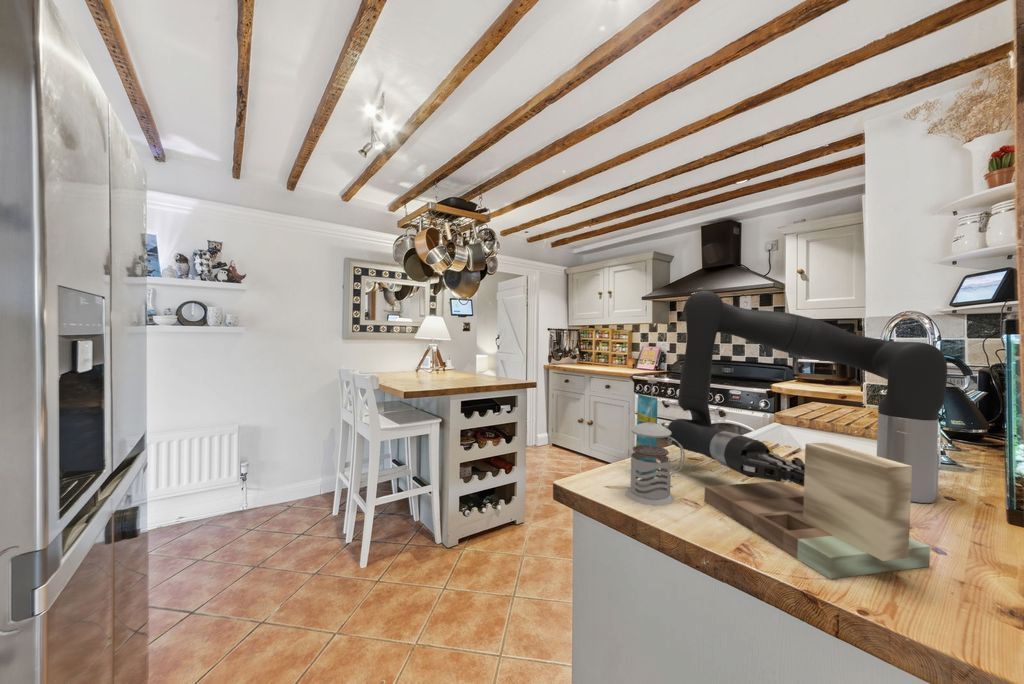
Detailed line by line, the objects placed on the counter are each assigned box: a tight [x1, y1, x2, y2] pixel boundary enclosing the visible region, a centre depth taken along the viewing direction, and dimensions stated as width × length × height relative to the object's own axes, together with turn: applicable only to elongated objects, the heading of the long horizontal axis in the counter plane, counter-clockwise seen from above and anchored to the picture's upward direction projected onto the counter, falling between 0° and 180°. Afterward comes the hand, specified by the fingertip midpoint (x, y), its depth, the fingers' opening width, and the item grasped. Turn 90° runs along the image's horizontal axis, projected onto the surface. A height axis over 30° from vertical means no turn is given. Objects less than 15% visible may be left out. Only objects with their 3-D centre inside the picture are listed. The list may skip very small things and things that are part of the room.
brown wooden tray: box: [704, 481, 931, 580], centre depth 69 cm, size 18×26×3 cm
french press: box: [625, 376, 686, 507], centre depth 82 cm, size 10×12×25 cm
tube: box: [635, 393, 658, 478], centre depth 95 cm, size 7×5×19 cm, turn 23°
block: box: [803, 442, 912, 561], centre depth 60 cm, size 4×12×13 cm, turn 11°
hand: (815, 483), depth 66 cm, fingers closed
